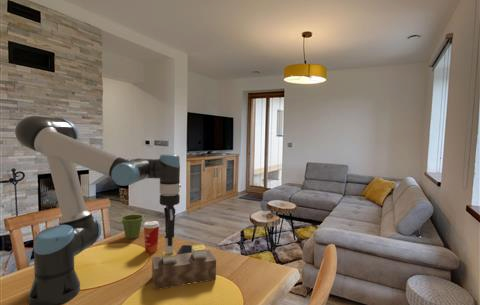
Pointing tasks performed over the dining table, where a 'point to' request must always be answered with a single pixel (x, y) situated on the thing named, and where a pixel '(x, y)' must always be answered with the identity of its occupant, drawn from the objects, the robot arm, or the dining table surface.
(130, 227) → the plant pot
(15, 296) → the dining table surface
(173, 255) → the peg left
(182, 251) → the phone
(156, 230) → the paper cup
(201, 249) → the peg right
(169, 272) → the walnut block
